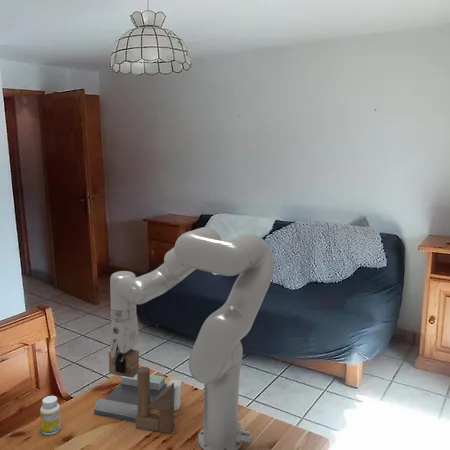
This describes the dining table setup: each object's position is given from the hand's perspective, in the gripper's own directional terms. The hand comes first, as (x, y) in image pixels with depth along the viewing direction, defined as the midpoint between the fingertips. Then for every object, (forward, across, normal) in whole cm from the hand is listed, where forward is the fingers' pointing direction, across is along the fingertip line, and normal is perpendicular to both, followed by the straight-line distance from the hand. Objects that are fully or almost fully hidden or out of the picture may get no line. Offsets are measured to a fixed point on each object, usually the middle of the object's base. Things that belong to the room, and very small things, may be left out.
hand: (124, 367), depth 142 cm
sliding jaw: (+12, +12, 0) cm, 17 cm away
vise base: (+13, +4, 0) cm, 14 cm away
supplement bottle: (+14, -17, +15) cm, 26 cm away
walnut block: (+2, 0, 0) cm, 2 cm away
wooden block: (+13, -7, -13) cm, 20 cm away
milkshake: (+13, +4, -15) cm, 21 cm away
